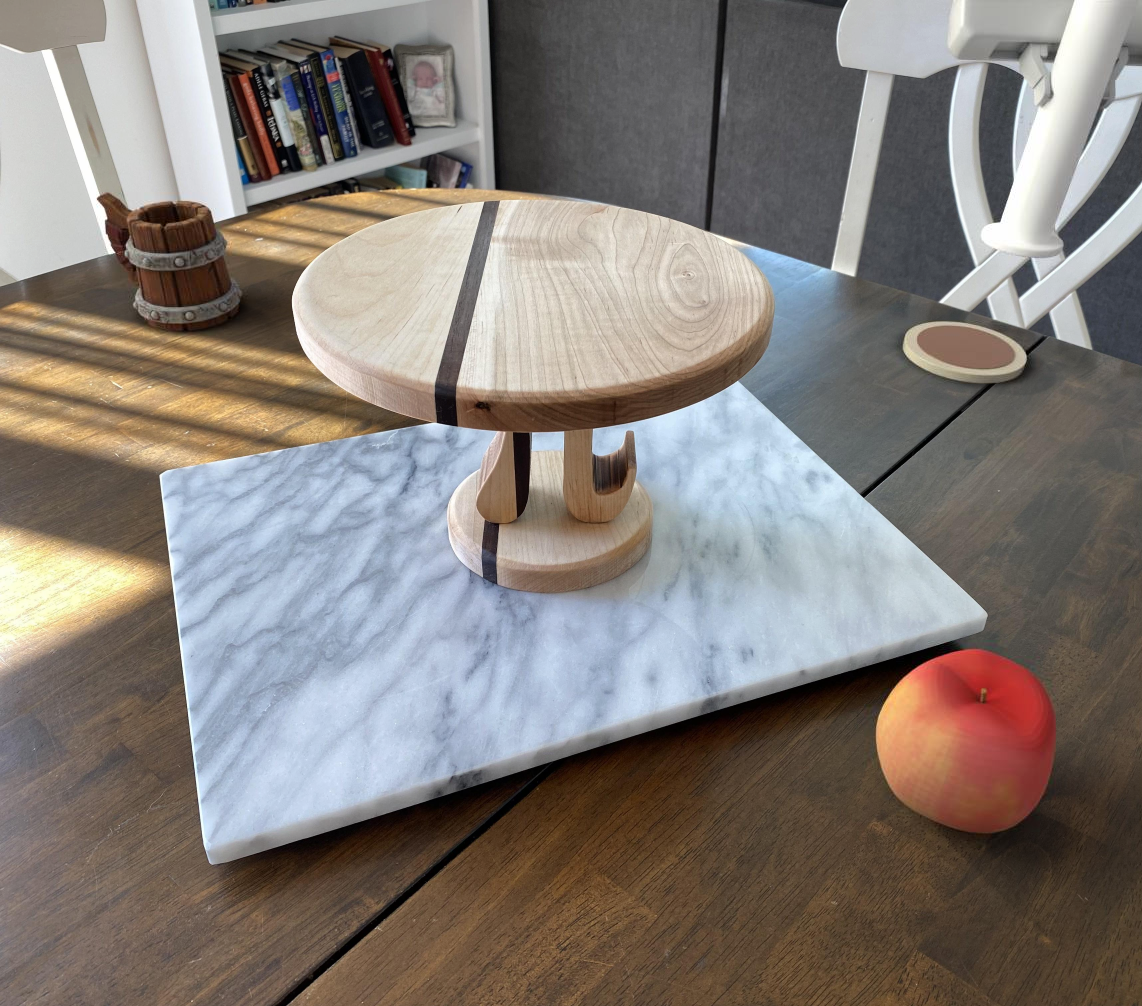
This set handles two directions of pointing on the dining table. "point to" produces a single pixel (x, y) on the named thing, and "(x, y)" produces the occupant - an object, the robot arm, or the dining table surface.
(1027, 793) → the apple
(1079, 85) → the candle
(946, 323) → the coaster
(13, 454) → the dining table surface
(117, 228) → the mug
